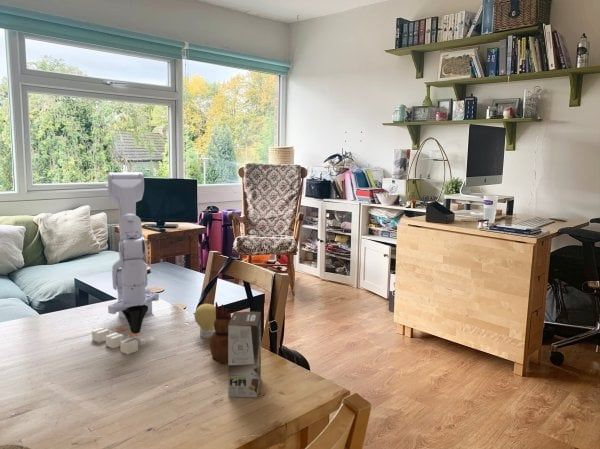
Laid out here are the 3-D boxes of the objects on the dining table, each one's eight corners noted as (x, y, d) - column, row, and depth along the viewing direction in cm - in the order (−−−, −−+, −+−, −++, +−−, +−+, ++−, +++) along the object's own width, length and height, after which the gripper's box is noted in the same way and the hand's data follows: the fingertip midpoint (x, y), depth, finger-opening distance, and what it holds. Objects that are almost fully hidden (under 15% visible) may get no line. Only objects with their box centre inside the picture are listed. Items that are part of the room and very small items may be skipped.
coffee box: (257, 398, 106) (257, 325, 103) (227, 397, 106) (226, 325, 103) (261, 378, 115) (262, 311, 112) (233, 377, 115) (233, 310, 112)
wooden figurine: (205, 362, 122) (204, 303, 120) (220, 353, 128) (219, 297, 125) (228, 368, 119) (227, 308, 117) (242, 359, 124) (241, 301, 122)
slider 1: (102, 336, 134) (102, 326, 134) (109, 339, 132) (108, 329, 132) (92, 339, 132) (91, 330, 131) (99, 342, 130) (98, 332, 130)
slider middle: (116, 341, 131) (115, 332, 130) (123, 344, 129) (122, 334, 129) (106, 345, 128) (105, 335, 128) (113, 348, 127) (112, 338, 126)
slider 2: (130, 347, 127) (130, 337, 127) (138, 350, 126) (137, 340, 125) (120, 351, 125) (120, 341, 124) (128, 354, 123) (127, 344, 123)
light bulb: (213, 345, 133) (213, 309, 131) (191, 342, 134) (190, 307, 132) (222, 336, 139) (221, 301, 137) (200, 334, 140) (199, 299, 138)
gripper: (119, 292, 123) (121, 344, 126) (165, 280, 135) (166, 327, 137) (102, 287, 127) (104, 338, 129) (148, 275, 139) (150, 322, 141)
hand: (135, 332), depth 134 cm, fingers closed
